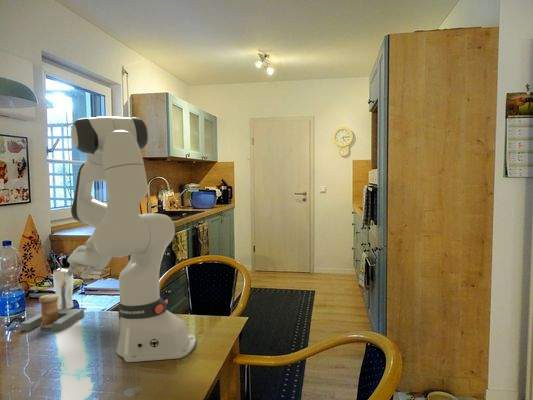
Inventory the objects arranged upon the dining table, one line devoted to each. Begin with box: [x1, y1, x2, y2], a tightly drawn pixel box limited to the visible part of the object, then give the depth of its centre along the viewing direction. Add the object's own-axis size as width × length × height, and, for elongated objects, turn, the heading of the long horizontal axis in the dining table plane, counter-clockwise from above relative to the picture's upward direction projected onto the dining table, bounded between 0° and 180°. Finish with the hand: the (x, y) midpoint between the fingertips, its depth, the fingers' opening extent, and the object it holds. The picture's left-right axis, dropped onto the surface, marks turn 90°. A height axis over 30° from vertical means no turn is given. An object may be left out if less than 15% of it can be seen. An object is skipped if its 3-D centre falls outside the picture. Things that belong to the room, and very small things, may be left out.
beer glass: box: [52, 267, 75, 309], centre depth 153 cm, size 7×7×15 cm
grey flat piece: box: [20, 308, 85, 332], centre depth 137 cm, size 14×14×2 cm
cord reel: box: [38, 293, 59, 329], centre depth 135 cm, size 6×6×10 cm
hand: (75, 276), depth 142 cm, fingers open, 8 cm apart
